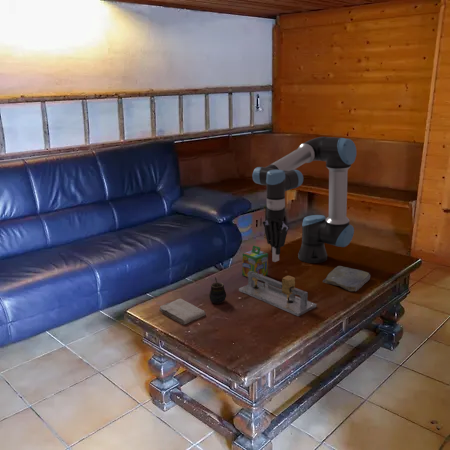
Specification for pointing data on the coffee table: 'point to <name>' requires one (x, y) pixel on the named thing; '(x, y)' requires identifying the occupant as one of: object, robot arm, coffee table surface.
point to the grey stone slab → (347, 278)
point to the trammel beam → (277, 294)
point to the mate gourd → (217, 293)
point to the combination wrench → (279, 290)
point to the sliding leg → (287, 285)
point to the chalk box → (255, 262)
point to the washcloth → (182, 311)
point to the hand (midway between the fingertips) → (275, 260)
